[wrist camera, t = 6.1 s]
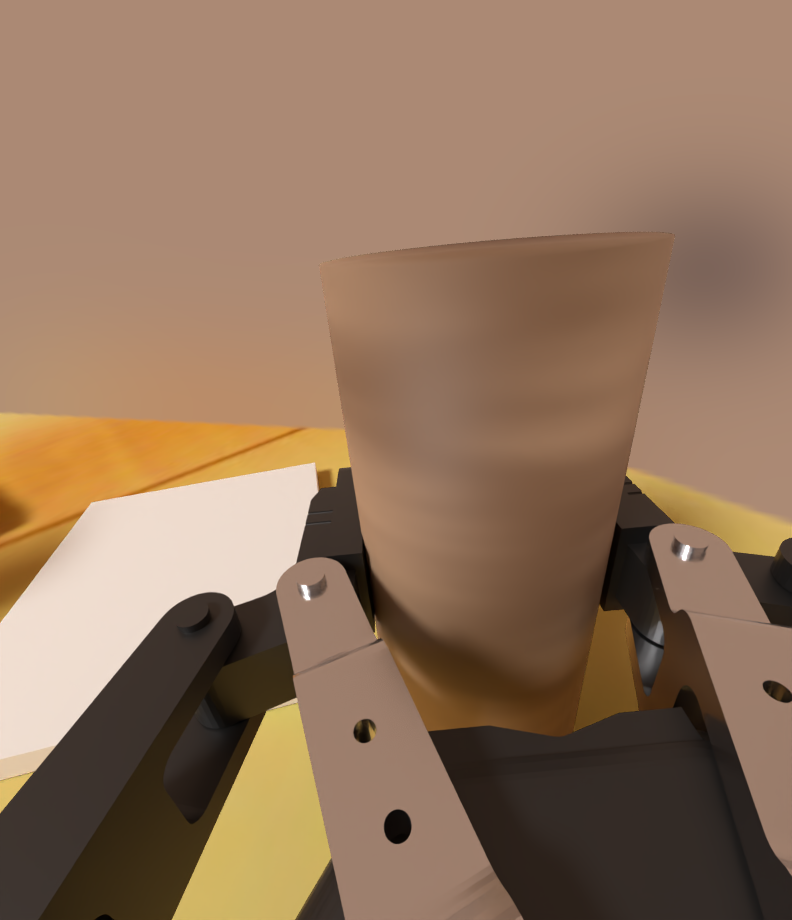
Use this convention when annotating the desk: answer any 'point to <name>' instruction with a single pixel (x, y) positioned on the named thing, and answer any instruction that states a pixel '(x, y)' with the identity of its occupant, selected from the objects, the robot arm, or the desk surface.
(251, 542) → the white mat
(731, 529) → the desk surface
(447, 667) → the slanted wooden cylinder
